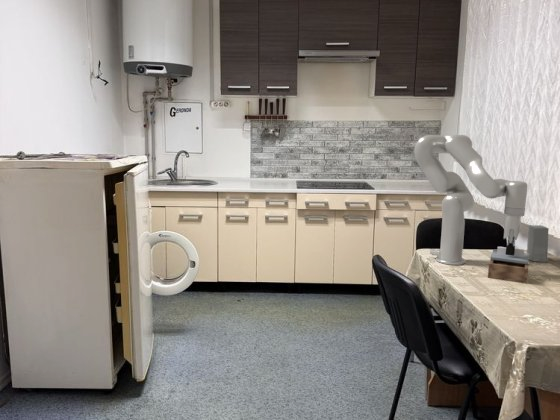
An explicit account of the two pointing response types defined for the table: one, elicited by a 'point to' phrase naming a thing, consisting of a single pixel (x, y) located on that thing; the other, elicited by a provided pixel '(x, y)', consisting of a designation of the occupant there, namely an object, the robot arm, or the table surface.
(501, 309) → the table surface
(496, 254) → the cover
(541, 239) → the skincare box
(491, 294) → the table surface
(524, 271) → the box
